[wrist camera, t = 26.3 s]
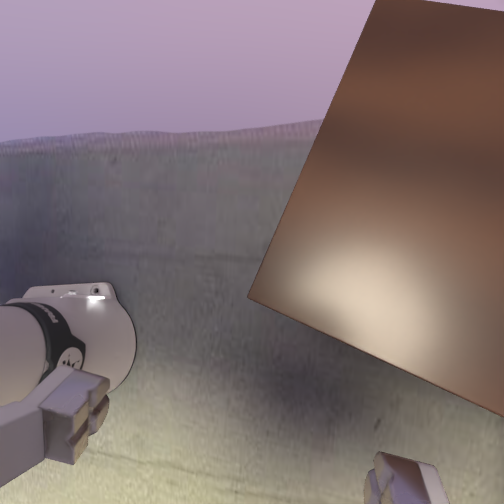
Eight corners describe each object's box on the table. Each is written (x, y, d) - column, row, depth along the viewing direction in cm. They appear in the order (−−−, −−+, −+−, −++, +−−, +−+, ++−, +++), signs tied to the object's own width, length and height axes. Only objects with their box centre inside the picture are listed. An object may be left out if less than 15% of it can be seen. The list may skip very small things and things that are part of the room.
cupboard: (536, 409, 37) (1028, 662, 10) (307, 306, 45) (246, 297, 18) (596, 252, 38) (1195, 106, 11) (361, 179, 46) (378, -7, 19)
